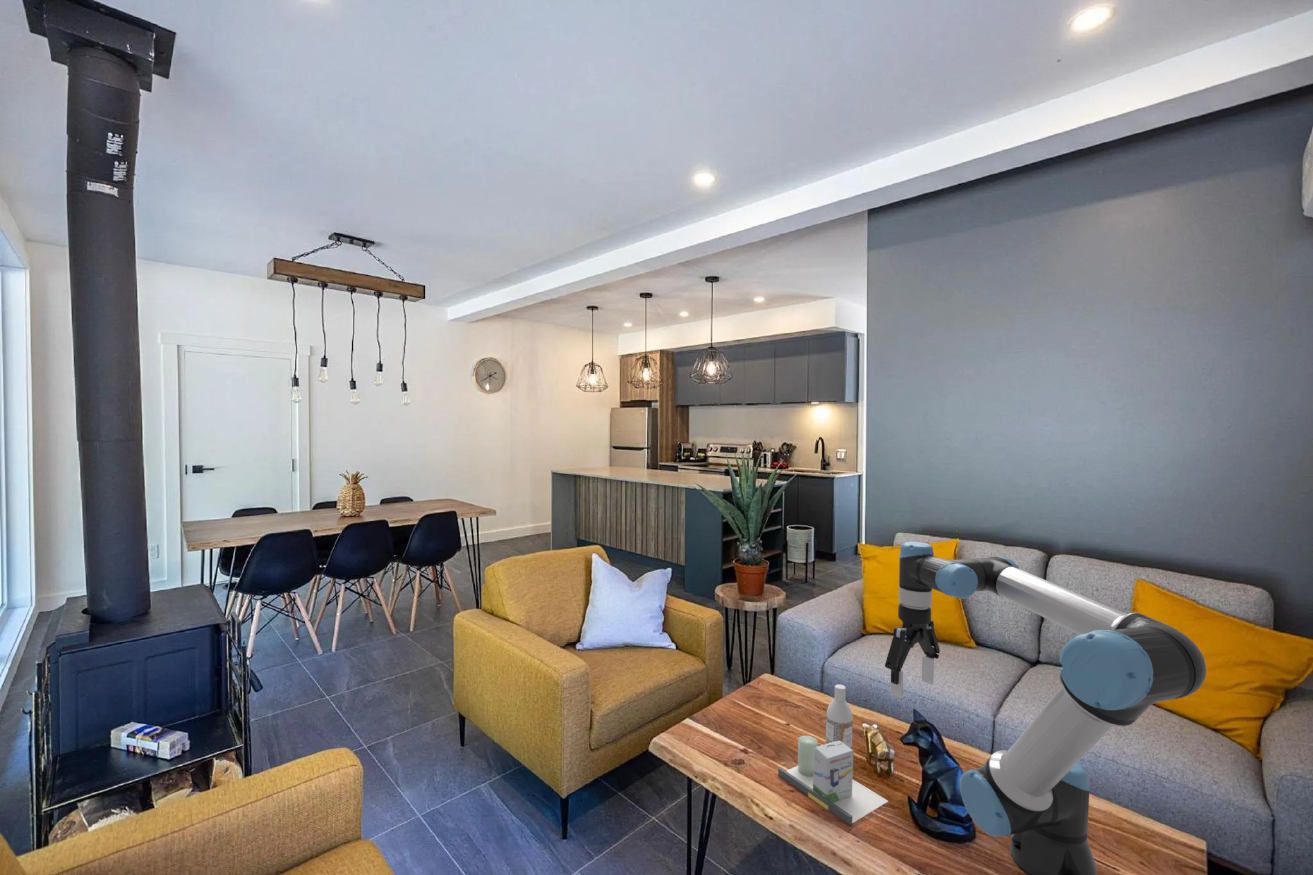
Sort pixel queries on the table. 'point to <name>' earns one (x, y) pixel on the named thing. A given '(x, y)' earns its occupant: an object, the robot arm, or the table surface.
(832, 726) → the bath foam
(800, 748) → the sage canister
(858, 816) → the shelf board
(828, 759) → the ink box
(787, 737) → the table surface
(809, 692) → the table surface
